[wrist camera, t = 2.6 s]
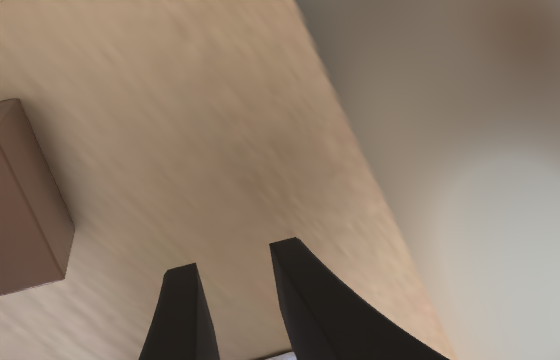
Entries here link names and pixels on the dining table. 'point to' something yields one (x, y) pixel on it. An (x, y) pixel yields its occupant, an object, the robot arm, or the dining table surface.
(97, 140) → the dining table surface
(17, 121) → the walnut block
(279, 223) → the dining table surface
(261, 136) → the dining table surface
